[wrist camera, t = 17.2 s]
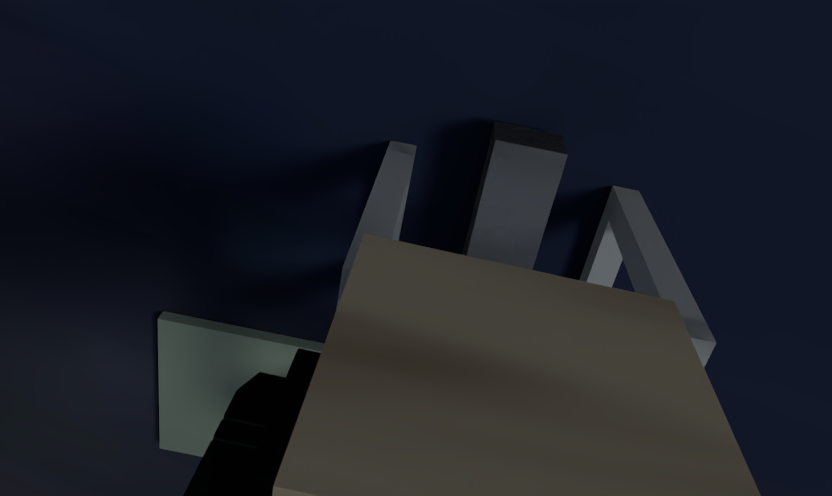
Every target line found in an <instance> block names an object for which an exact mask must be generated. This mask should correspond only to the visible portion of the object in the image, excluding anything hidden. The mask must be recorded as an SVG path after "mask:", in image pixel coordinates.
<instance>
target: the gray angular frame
mask: <svg viewBox="0 0 832 496" xmlns="http://www.w3.org/2000/svg"><path fill="white" fill-rule="evenodd" d="M416 147H417V146H415V145H410V144H405V143H400V142H395V141H390V143H389V146H388V149H387V151H386V154H385V156H384V159H383V162H382V164H381V167H380V170H379V172H378V175H377V178H376V180H375V183H374V186H373V188H372V191H371V194H370V196H369V199H368V202H367V204H366V207H365V209H364V212H363V215H362V217H361V220H360V223H359V225H358V228H357V231H356V233H355V236H354V239H353V241H352V244H351V247H350V249H349V252H348V255H347V257H346V260H345V262H344V265H343V268H342V275H341V282H340V289H339V296H338V303H337V308H338V305H339V302H340V299H341V297H342V294H343V291H344V288H345V285H346V283H347V280H348V277H349V274H350V272H351V269H352V266H353V263H354V260H355V258H356V255H357V252H358V249H359V247H360V244H361V241H362V238H363V235H364V234H368V235H373V236H378V237H382V238H387V239H391V240H396V241H399V237H400V232H401V226H402V221H403V216H404V210H405V205H406V200H407V195H408V189H409V184H410V179H411V173H412V168H413V163H414V158H415V152H416ZM622 259H623V261H624V263H625V266H626V269H627V271H628V274H629V277H630V279H631V282H632V285H633V287H634V290H635V293H639V294H644V295H649V296H653V297H658V298H662V299H667V300H671V301H674V302H675V304H676V306H677V309H678V311H679V313H680V315H681V318H682V320H683V322H684V324H685V327H686V329H687V331H688V333H689V336H690V338H691V340H692V342H693V345H694V347H695V349H696V351H697V354H698V356H699V358H700V360H701V363H702V365H703V367H705V365H706V363H707V361H708V359H709V357H710V355H711V353H712V351H713V349H714V347H715V345H716V341H715V339H714V337H713V335H712V333H711V332H710V330H709V328H708V326H707V324H706V322H705V320H704V318H703V316H702V314H701V312H700V310H699V308H698V306H697V304H696V302H695V300H694V298H693V296H692V294H691V292H690V290H689V288H688V286H687V284H686V282H685V280H684V279H683V277H682V275H681V273H680V271H679V269H678V267H677V265H676V263H675V261H674V259H673V257H672V255H671V253H670V251H669V249H668V247H667V245H666V243H665V241H664V239H663V237H662V235H661V233H660V231H659V229H658V227H657V226H656V224H655V222H654V220H653V218H652V216H651V214H650V212H649V210H648V208H647V206H646V204H645V202H644V200H643V198H642V196H641V194H640V192H639V191H637V190H632V189H627V188H622V187H617V186H612V189H611V192H610V195H609V198H608V200H607V203H606V206H605V209H604V212H603V215H602V217H601V220H600V223H599V226H598V229H597V232H596V234H595V237H594V240H593V243H592V246H591V248H590V251H589V254H588V257H587V260H586V263H585V265H584V268H583V271H582V274H581V277H580V281H584V282H589V283H593V284H598V285H603V286H607V287H612V285H613V282H614V280H615V277H616V275H617V272H618V269H619V267H620V264H621V262H622Z"/></svg>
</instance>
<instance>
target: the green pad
mask: <svg viewBox="0 0 832 496" xmlns="http://www.w3.org/2000/svg"><path fill="white" fill-rule="evenodd" d="M324 344H325V343H320V342H315V341H310V340H305V339H300V338H295V337H290V336H285V335H280V334H275V333H270V332H265V331H260V330H255V329H250V328H245V327H240V326H235V325H230V324H225V323H220V322H215V321H210V320H205V319H200V318H195V317H190V316H186V315H181V314H176V313H171V312H166V311H163V312H162V314H161V315H160V316H159V318H158V372H159V433H160V448H161V449H166V450H171V451H176V452H181V453H186V454H191V455H196V456H201V457H203V456H204V454H205V452H206V450H207V448H208V446H209V444H210V442H211V440H213V437H214V434H215V432H216V430H217V428H218V426H219V424H220V422H221V420H223V418H224V414H225V412H226V410H227V408H228V406H229V404H230V402H231V400H232V398H233V396H234V394H235V392H236V390H237V389H239V388H240V387H241V386H242V385H244V384H245V383H246V382H247V381H249V380H250V379H251V378H253V377H254V376H255V375H256V374H258V373H259V372H262V373H267V374H272V375H276V376H281V377H286V376H287V373H288V371H289V369H290V366H291V364H292V361H293V359H294V357H295V354H296V352H297V350H298V349H299V348H301V349H305V350H310V351H314V352H319V353H321V352H322V349H323V347H324Z"/></svg>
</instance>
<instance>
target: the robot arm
mask: <svg viewBox="0 0 832 496" xmlns="http://www.w3.org/2000/svg"><path fill="white" fill-rule="evenodd" d="M320 355H321V353H319V352H314V351H310V350H305V349H301V348H299V349H298V350H297V352H296V354H295V357H294V359H293V361H292V364H291V366H290V369H289V371H288V373H287V376H286V377H281V376H276V375H272V374H267V373H262V372H259V373H258V374H256V375H255V376H254V377H253V378H251V379H250V380H249V381H247V382H246V383H245V384H244V385H242V386H241V387H240V388H239V389H237V390H236V392H235V394H234V396H233V398H232V400H231V402H230V404H229V406H228V408H227V410H226V412H225V414H224V418H223V420H221V422H220V424H219V426H218V428H217V430H216V432H215V434H214V437H213V440H211V442H210V444H209V446H208V448H207V450H206V452H205V454H204V456H203V458H202V460H201V462H200V464H199V466H198V468H197V470H196V472H195V474H194V476H193V478H192V479H191V481H190V483H189V485H188V487H187V489H186V491H185V493H184V495H183V496H272V492H273V485H274V483H275V480H276V477H277V474H278V471H279V469H280V466H281V463H282V460H283V458H284V455H285V452H286V449H287V447H288V444H289V441H290V438H291V435H292V433H293V430H294V427H295V424H296V422H297V419H298V416H299V413H300V410H301V408H302V405H303V402H304V399H305V397H306V394H307V391H308V388H309V385H310V383H311V380H312V377H313V374H314V372H315V369H316V366H317V363H318V360H319V358H320Z"/></svg>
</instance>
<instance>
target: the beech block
mask: <svg viewBox="0 0 832 496" xmlns="http://www.w3.org/2000/svg"><path fill="white" fill-rule="evenodd" d="M272 496H760V494H759V491H758V489H757V487H756V484H755V482H754V480H753V478H752V475H751V473H750V471H749V469H748V466H747V464H746V462H745V460H744V457H743V455H742V453H741V451H740V448H739V446H738V444H737V442H736V439H735V437H734V435H733V433H732V430H731V428H730V426H729V424H728V421H727V419H726V417H725V415H724V412H723V410H722V408H721V406H720V403H719V401H718V399H717V397H716V394H715V392H714V390H713V388H712V385H711V383H710V381H709V378H708V376H707V374H706V372H705V369H704V367H703V365H702V363H701V360H700V358H699V356H698V354H697V351H696V349H695V347H694V345H693V342H692V340H691V338H690V336H689V333H688V331H687V329H686V327H685V324H684V322H683V320H682V318H681V315H680V313H679V311H678V309H677V306H676V304H675V302H674V301H671V300H667V299H662V298H658V297H653V296H649V295H644V294H639V293H635V292H630V291H626V290H621V289H616V288H612V287H607V286H603V285H598V284H593V283H589V282H584V281H580V280H575V279H570V278H566V277H561V276H557V275H552V274H548V273H543V272H538V271H534V270H529V269H525V268H520V267H515V266H511V265H506V264H502V263H497V262H492V261H488V260H483V259H479V258H474V257H469V256H465V255H460V254H456V253H451V252H447V251H442V250H437V249H433V248H428V247H424V246H419V245H414V244H410V243H405V242H401V241H396V240H391V239H387V238H382V237H378V236H373V235H368V234H364V235H363V238H362V241H361V244H360V247H359V249H358V252H357V255H356V258H355V260H354V263H353V266H352V269H351V272H350V274H349V277H348V280H347V283H346V285H345V288H344V291H343V294H342V297H341V299H340V302H339V305H338V308H337V310H336V313H335V316H334V319H333V322H332V324H331V327H330V330H329V333H328V335H327V338H326V341H325V344H324V347H323V349H322V352H321V355H320V358H319V360H318V363H317V366H316V369H315V372H314V374H313V377H312V380H311V383H310V385H309V388H308V391H307V394H306V397H305V399H304V402H303V405H302V408H301V410H300V413H299V416H298V419H297V422H296V424H295V427H294V430H293V433H292V435H291V438H290V441H289V444H288V447H287V449H286V452H285V455H284V458H283V460H282V463H281V466H280V469H279V471H278V474H277V477H276V480H275V483H274V485H273V492H272Z"/></svg>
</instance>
